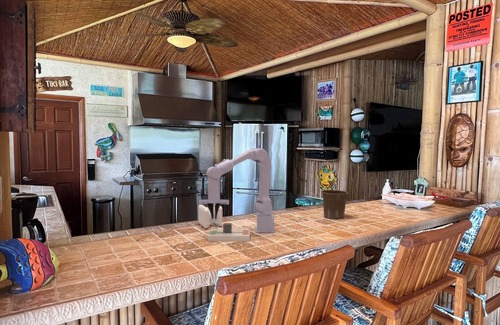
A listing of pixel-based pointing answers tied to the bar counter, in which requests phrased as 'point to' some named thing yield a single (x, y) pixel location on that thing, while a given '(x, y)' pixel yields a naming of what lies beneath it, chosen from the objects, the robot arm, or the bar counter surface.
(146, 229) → the bar counter surface
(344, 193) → the plant pot
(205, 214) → the cable organizer
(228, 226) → the knob
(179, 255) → the bar counter surface
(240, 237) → the switch plate
